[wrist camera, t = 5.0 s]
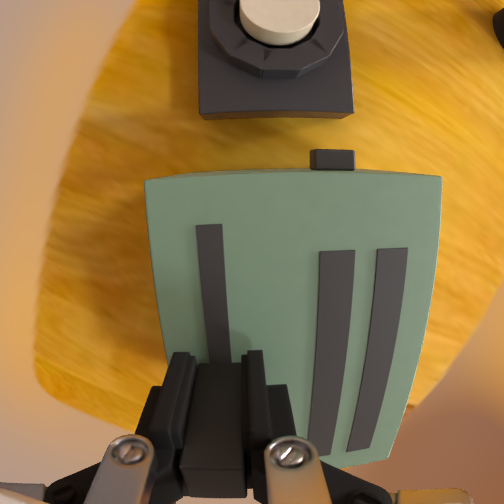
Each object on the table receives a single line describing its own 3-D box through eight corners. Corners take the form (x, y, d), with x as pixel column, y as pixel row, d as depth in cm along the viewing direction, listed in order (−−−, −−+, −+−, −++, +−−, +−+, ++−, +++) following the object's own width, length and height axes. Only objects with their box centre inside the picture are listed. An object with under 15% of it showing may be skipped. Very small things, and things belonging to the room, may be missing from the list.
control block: (203, -20, 15) (195, -53, 11) (327, -18, 15) (343, -49, 11) (204, 120, 17) (194, 109, 14) (341, 119, 18) (365, 108, 14)
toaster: (188, 159, 18) (141, 154, 9) (358, 155, 18) (444, 153, 9) (208, 378, 22) (195, 478, 13) (346, 368, 22) (388, 459, 13)
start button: (239, -11, 12) (238, -28, 10) (309, -10, 12) (316, -26, 11) (240, 46, 13) (240, 32, 11) (315, 47, 13) (323, 34, 11)
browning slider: (197, 362, 11) (177, 467, 6) (243, 361, 11) (244, 468, 6) (202, 395, 11) (188, 498, 7) (245, 394, 11) (247, 499, 7)
